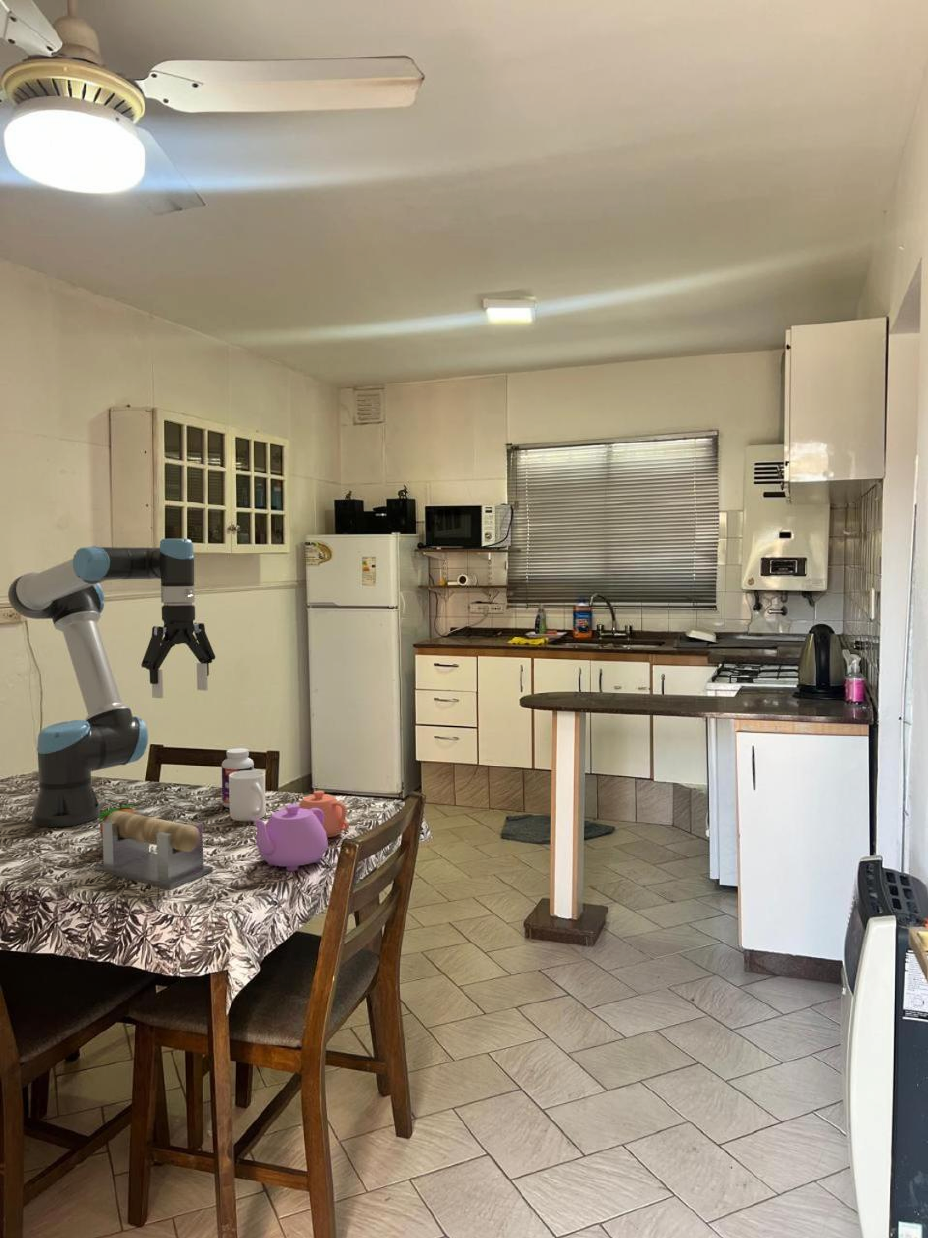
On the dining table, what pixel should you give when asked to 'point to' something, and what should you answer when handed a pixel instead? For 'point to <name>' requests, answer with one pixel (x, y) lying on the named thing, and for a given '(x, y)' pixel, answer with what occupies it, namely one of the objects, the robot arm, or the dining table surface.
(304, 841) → the teapot
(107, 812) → the fruit
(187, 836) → the baguette
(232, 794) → the mug
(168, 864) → the bracket stand
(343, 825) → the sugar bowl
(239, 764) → the pill bottle
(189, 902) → the dining table surface
